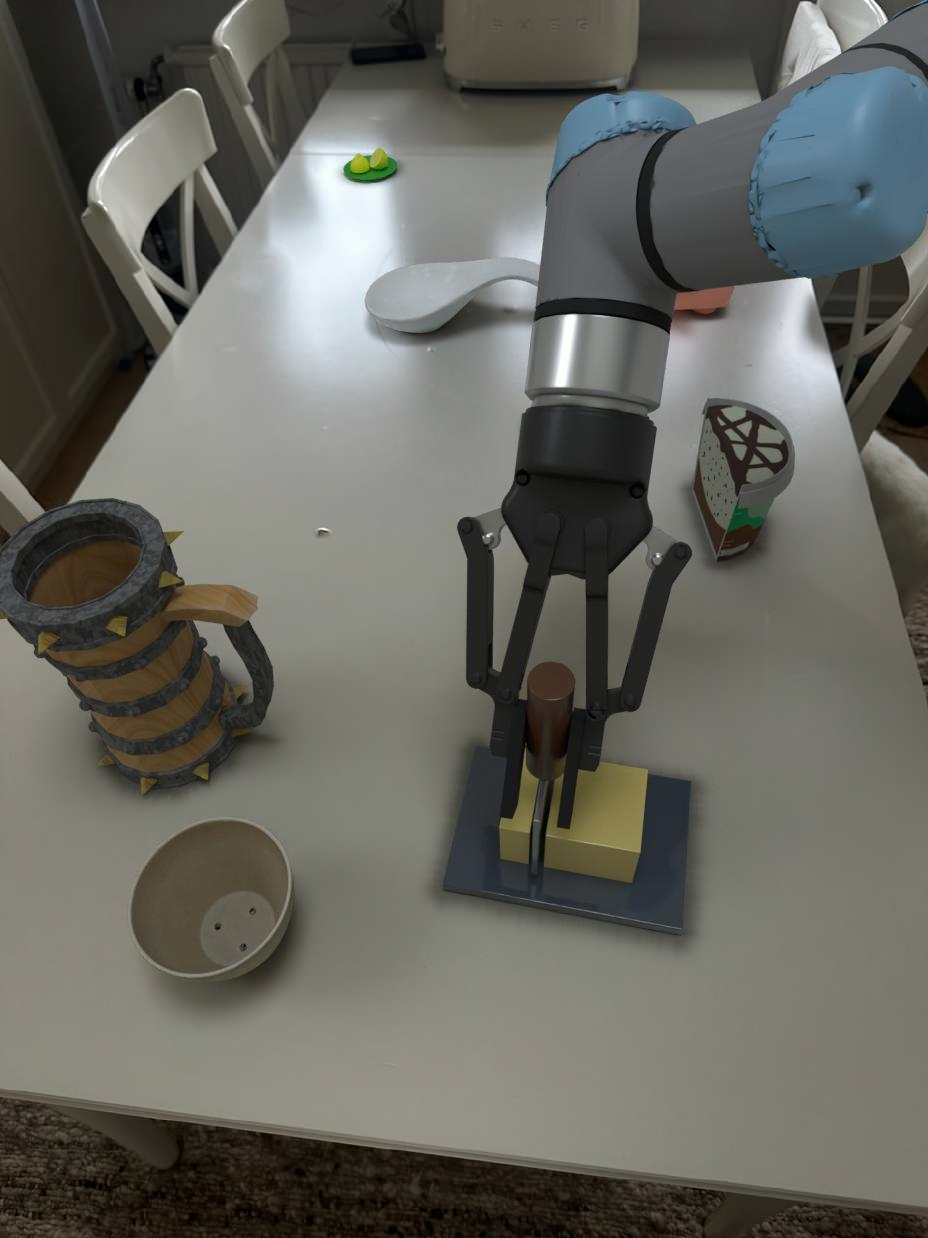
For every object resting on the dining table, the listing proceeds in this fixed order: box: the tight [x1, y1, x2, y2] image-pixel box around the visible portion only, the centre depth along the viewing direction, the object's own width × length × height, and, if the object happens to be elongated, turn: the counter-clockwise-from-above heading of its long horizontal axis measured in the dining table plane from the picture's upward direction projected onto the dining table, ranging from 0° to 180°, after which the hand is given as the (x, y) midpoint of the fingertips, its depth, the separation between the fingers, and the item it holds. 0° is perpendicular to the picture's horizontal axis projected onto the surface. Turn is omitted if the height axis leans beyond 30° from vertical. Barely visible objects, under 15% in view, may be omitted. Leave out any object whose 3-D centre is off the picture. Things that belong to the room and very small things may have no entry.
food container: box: [691, 397, 796, 563], centre depth 76 cm, size 12×6×10 cm, turn 4°
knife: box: [525, 661, 576, 874], centre depth 53 cm, size 3×8×17 cm, turn 168°
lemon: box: [343, 147, 398, 181], centre depth 127 cm, size 8×8×3 cm
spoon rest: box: [364, 256, 540, 334], centre depth 100 cm, size 24×12×7 cm, turn 84°
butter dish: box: [442, 745, 692, 936], centre depth 59 cm, size 16×11×6 cm
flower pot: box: [126, 815, 295, 983], centre depth 55 cm, size 10×10×7 cm
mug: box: [0, 497, 275, 796], centre depth 60 cm, size 13×17×20 cm
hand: (536, 814), depth 51 cm, fingers closed on knife, 3 cm apart
